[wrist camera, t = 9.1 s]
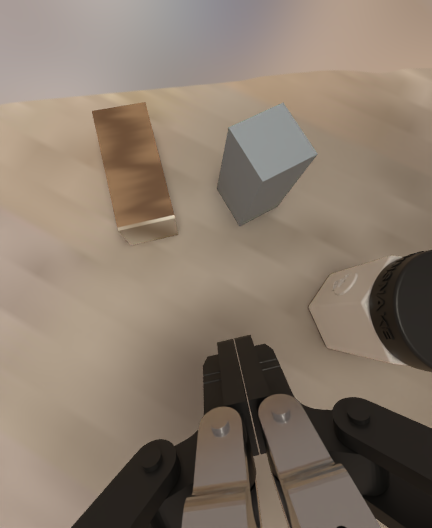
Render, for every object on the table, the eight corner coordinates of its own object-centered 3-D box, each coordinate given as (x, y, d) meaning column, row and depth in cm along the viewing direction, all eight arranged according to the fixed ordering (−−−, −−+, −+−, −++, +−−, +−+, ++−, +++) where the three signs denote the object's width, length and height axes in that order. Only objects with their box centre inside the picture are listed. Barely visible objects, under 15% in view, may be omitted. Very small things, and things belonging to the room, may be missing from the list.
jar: (338, 257, 30) (433, 218, 18) (399, 302, 29) (536, 293, 18) (294, 322, 28) (366, 327, 16) (358, 372, 28) (480, 414, 16)
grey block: (254, 170, 31) (283, 102, 21) (277, 206, 30) (317, 154, 21) (216, 188, 30) (228, 127, 20) (239, 226, 30) (262, 181, 20)
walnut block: (178, 234, 29) (152, 136, 31) (175, 218, 24) (145, 102, 26) (131, 245, 28) (108, 144, 30) (118, 230, 23) (91, 111, 25)
